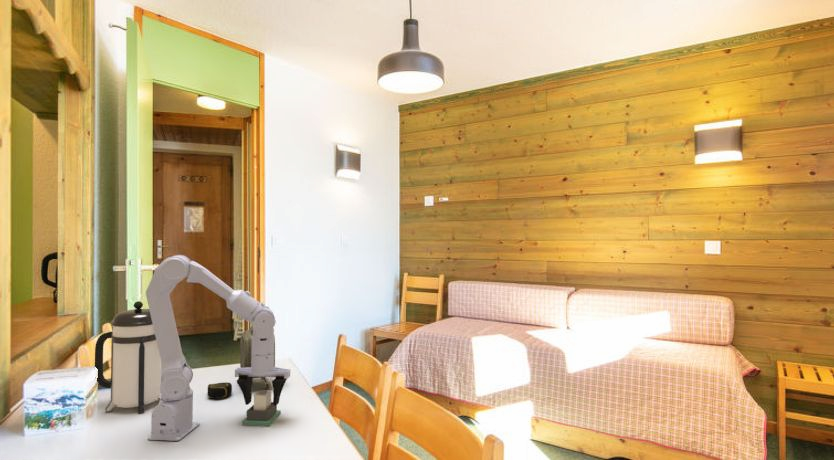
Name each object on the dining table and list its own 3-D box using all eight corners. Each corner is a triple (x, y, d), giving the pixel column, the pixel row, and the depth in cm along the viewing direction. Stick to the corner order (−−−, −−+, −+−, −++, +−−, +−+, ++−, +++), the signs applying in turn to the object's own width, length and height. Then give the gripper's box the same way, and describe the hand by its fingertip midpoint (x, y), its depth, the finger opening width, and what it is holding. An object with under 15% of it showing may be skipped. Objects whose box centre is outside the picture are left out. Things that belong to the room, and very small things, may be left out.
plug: (265, 418, 118) (265, 393, 118) (253, 418, 118) (253, 393, 118) (271, 412, 122) (271, 388, 122) (259, 412, 122) (259, 388, 122)
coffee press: (162, 391, 139) (163, 295, 139) (170, 408, 126) (171, 302, 126) (94, 404, 129) (95, 300, 129) (94, 423, 116) (96, 308, 116)
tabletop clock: (274, 390, 141) (275, 311, 142) (244, 394, 137) (245, 313, 137) (267, 377, 154) (268, 304, 154) (239, 380, 150) (240, 306, 150)
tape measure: (231, 391, 140) (231, 379, 140) (231, 399, 134) (232, 386, 134) (207, 394, 138) (207, 382, 138) (206, 402, 131) (206, 389, 131)
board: (269, 426, 115) (269, 412, 115) (242, 425, 116) (242, 411, 116) (280, 413, 123) (280, 401, 123) (255, 412, 124) (255, 400, 124)
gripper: (294, 349, 123) (293, 399, 123) (243, 348, 124) (242, 397, 124) (285, 356, 116) (284, 409, 116) (231, 355, 117) (230, 407, 117)
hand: (262, 403), depth 120 cm, fingers open, 7 cm apart
